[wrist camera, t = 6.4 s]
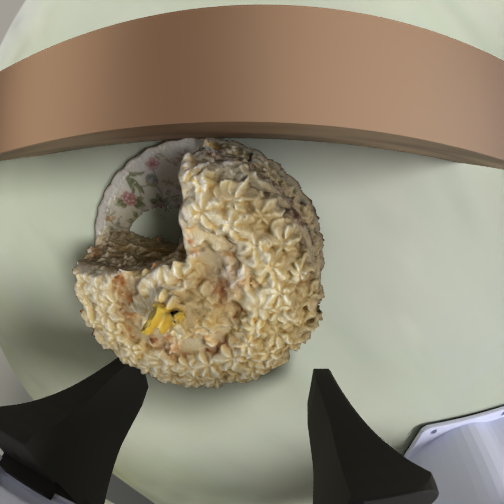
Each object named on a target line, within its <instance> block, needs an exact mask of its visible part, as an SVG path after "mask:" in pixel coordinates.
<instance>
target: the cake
mask: <svg viewBox="0 0 504 504" xmlns="http://www.w3.org/2000/svg"><path fill="white" fill-rule="evenodd" d="M168 190H170V191H169V192H170V194H169V195H166V192H167V191H168ZM177 195H179V197H178V198H176V199H175V200H174V201H172V203H171V204H172V205H175V208H179V209H180V210H179V215H178V216H179V217H178V218H179V224H180V226H181V228H182V233H183V236H181V237H180V238H179V240H178V241H179V242H178V243H176V244H173V243H170V242H167V243H165V242H164V240H163V238H162V235H161V236H157V237H155V238H152V239H150V238H145V237H143V236H140V235H137V234H135V233H134V232H132V231H130V227H131V226H132V223H133V222H134V221H135V220H136V218H138V217H139V216H140V215H141V214H142V213H143V212H146V211H149V210H150V208H151V209H153V208H156V207H165V211H167V210H168V211H170V210H171V208H170V209H167V205H168V206H169V207H170V204H167V202H168V201H169V200H170V199H171V197H172V196H177ZM181 206H182V207H181ZM160 217H161V218H163V219H164V217H163V216H162V215H160ZM318 219H319V217H318V216H317V214H316V210H315V208H314V206H313V205H312V200H311V199H309V198H308V197H307V196H306V195H305V194H304V193H303V192H302V190H301V187H300V185H299V183H298V181H296V180H295V179H294V178H293V177H292V176H290V175H288V174H286V172H285V171H284V169H283V168H282V167H281V165H280V164H278V163H277V162H275V161H273V160H270V159H267V158H266V157H265V155H264V154H262V152H260V151H258V150H256V149H251V148H250V149H249V148H248V147H246V146H244V145H243V144H241V143H239V142H234V141H228V140H222V139H221V138H218V137H215V138H198V139H197V138H182V139H179V140H167V141H165V142H164V143H161V144H159V145H157V146H152V147H149V148H146V149H145V150H144V151H143V152H142V154H139V155H138V156H137V157H135V158H134V157H133V158H131V159H130V160H129V161H128V162H127V164H126V165H125V167H124V168H123V169H121V170H120V171H118V172H117V173H116V175H115V176H114V178H113V180H112V183H111V185H110V186H108V187H107V189H106V191H105V193H104V198H103V200H102V201H101V204H100V205H99V207H98V217H97V219H96V222H95V231H96V236H95V247H94V246H91V247H90V248H88V249H87V252H88V253H89V254H87V255H86V256H85V257H84V259H82V260H80V261H78V262H77V264H76V266H75V267H74V269H73V270H72V273H73V274H74V275H75V276H76V281H77V282H76V284H75V286H74V289H75V295H76V296H77V297H78V299H79V301H80V302H81V303H82V304H83V307H84V308H83V310H80V312H81V317H82V318H83V319H84V321H85V325H86V326H88V327H93V329H94V331H93V333H92V335H93V336H95V339H96V340H97V342H98V343H99V344H102V348H103V349H111V350H113V351H114V353H115V354H116V356H118V357H119V359H120V361H121V362H122V363H123V364H129V365H130V366H132V367H136V368H138V369H140V370H141V373H142V374H147V373H148V372H149V373H150V376H151V377H156V379H158V380H159V381H160V382H162V383H164V384H166V383H168V382H171V383H172V384H177V385H178V384H181V385H182V386H183V387H185V388H189V387H195V388H199V387H200V386H203V385H205V386H206V387H207V388H211V387H214V388H219V387H222V385H223V383H233V382H235V381H237V382H239V383H245V382H250V381H252V380H258V379H259V377H260V375H264V374H266V373H269V371H270V370H271V369H274V368H276V367H278V366H281V365H282V364H284V363H287V362H288V360H289V358H290V355H289V349H291V350H295V351H297V350H298V349H300V345H301V343H306V340H308V339H310V337H311V331H314V330H315V328H317V327H318V326H319V324H318V321H319V320H323V318H322V311H321V310H320V309H319V305H318V304H320V301H321V300H322V298H324V292H323V286H322V285H321V284H320V283H321V282H320V280H321V271H322V269H323V267H324V263H325V262H324V257H323V253H322V252H323V251H322V248H323V246H324V245H323V241H324V239H323V238H322V237H323V235H322V233H320V232H319V231H320V226H319V224H320V223H318ZM172 311H173V312H174V313H173V314H171V312H172ZM175 311H179V312H178V313H177V312H175Z"/></svg>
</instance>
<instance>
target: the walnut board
mask: <svg viewBox="0 0 504 504" xmlns="http://www.w3.org/2000/svg"><path fill="white" fill-rule="evenodd" d="M215 137H218V138H264V139H288V140H305V141H319V142H331V143H341V144H351V145H360V146H368V147H375V148H383V149H390V150H396V151H403V152H409V153H415V154H420V155H426V156H431V157H436V158H441V159H446V160H451V161H455V162H460V163H466V164H473V165H480V166H486V167H492V168H498V169H504V61H503V60H501V59H499V58H497V57H495V56H493V55H491V54H489V53H486V52H484V51H482V50H480V49H478V48H475V47H473V46H471V45H468V44H466V43H463V42H461V41H458V40H456V39H453V38H450V37H448V36H445V35H442V34H439V33H436V32H433V31H430V30H427V29H424V28H420V27H417V26H413V25H410V24H406V23H403V22H399V21H395V20H391V19H386V18H382V17H377V16H372V15H367V14H362V13H356V12H350V11H343V10H336V9H328V8H319V7H308V6H293V5H233V6H218V7H207V8H198V9H190V10H182V11H176V12H170V13H164V14H159V15H153V16H148V17H144V18H139V19H135V20H131V21H127V22H123V23H119V24H115V25H112V26H108V27H105V28H101V29H98V30H95V31H92V32H89V33H86V34H83V35H80V36H77V37H74V38H72V39H69V40H66V41H64V42H61V43H59V44H56V45H54V46H51V47H49V48H47V49H44V50H42V51H40V52H38V53H36V54H33V55H31V56H29V57H27V58H25V59H23V60H21V61H19V62H17V63H15V64H13V65H11V66H9V67H7V68H6V69H4V70H2V71H0V161H3V160H9V159H16V158H23V157H31V156H39V155H45V154H50V153H56V152H62V151H68V150H75V149H81V148H88V147H96V146H104V145H112V144H122V143H132V142H144V141H157V140H174V139H182V138H197V139H198V138H215Z"/></svg>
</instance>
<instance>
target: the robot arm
mask: <svg viewBox="0 0 504 504" xmlns="http://www.w3.org/2000/svg"><path fill="white" fill-rule="evenodd" d="M147 389H148V383H147V379H146V376H145V374H142V373H141V370H140V369H138V368H136V367H132V366H130V365H129V364H123V363H122V362H121V361H120V359H119V357H118V358H117V359H115V360H114V361H112V362H111V363H109V364H108V365H106V366H105V367H103V368H102V369H100V370H99V371H97V372H96V373H94V374H92V375H91V376H89V377H87V378H86V379H84V380H82V381H81V382H79V383H77V384H75V385H73V386H71V387H69V388H67V389H65V390H63V391H61V392H58V393H56V394H53V395H50V396H48V397H45V398H42V399H39V400H35V401H32V402H27V403H23V404H17V405H11V406H2V407H0V448H1V449H2V450H3V452H4V454H3V455H2V456H1V455H0V504H104V503H105V498H106V493H107V489H108V485H109V481H110V477H111V474H112V471H113V467H114V464H115V461H116V458H117V455H118V453H119V450H120V447H121V445H122V443H123V441H124V439H125V437H126V435H127V433H128V431H129V429H130V427H131V425H132V423H133V422H134V420H135V418H136V416H137V414H138V412H139V410H140V408H141V406H142V404H143V401H144V398H145V395H146V392H147ZM308 429H309V437H310V445H311V453H312V461H313V473H314V486H313V504H504V406H502V407H499V408H496V409H493V410H489V411H486V412H482V413H479V414H475V415H471V416H467V417H463V418H459V419H454V420H450V421H445V422H440V423H435V424H430V425H426V426H424V427H423V428H421V430H420V431H419V433H418V434H417V436H416V438H415V439H414V441H413V442H412V444H411V445H410V447H409V449H408V450H407V452H406V453H405V455H404V456H402V455H401V454H399V453H398V452H397V451H395V450H394V449H393V448H392V447H390V446H389V445H388V444H387V443H385V442H384V441H383V440H382V439H381V438H380V437H379V436H378V435H377V434H376V433H375V432H374V431H373V430H372V429H371V428H370V427H369V426H368V425H367V424H366V423H365V422H364V420H363V419H362V418H361V417H360V416H359V414H358V413H357V412H356V411H355V409H354V408H353V407H352V405H351V404H350V402H349V401H348V399H347V398H346V397H345V395H344V393H343V392H342V390H341V389H340V387H339V386H338V384H337V382H336V380H335V379H334V377H333V375H332V373H331V371H330V370H329V369H314V370H313V375H312V381H311V387H310V392H309V398H308Z"/></svg>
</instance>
